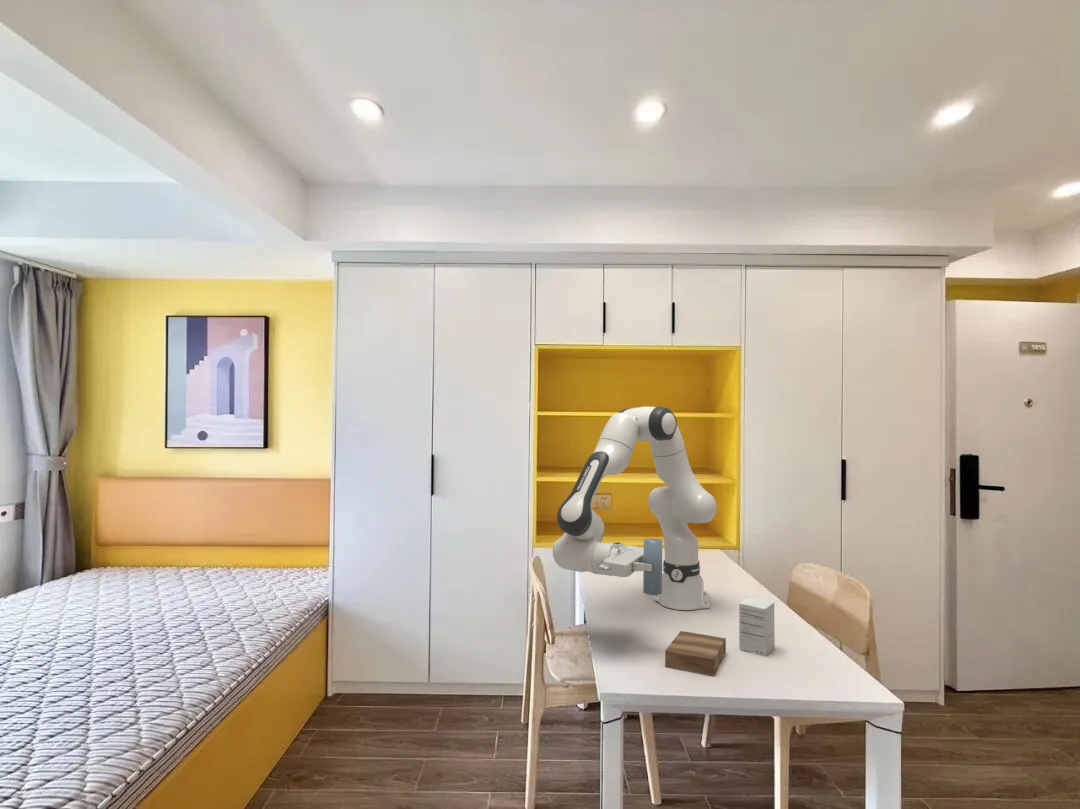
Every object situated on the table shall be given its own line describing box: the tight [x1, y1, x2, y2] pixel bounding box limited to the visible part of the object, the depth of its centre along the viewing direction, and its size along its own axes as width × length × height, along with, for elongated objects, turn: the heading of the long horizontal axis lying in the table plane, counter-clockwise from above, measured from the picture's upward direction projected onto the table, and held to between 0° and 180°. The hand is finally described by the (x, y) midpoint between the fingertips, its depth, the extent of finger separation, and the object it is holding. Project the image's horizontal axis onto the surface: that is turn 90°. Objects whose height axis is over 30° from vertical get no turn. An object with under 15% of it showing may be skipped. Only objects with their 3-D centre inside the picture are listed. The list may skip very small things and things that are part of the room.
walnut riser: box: [664, 630, 727, 677], centre depth 157 cm, size 16×12×4 cm
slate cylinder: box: [642, 537, 663, 596], centre depth 164 cm, size 5×5×14 cm
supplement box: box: [738, 597, 776, 657], centre depth 164 cm, size 7×7×13 cm
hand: (655, 564), depth 163 cm, fingers closed on slate cylinder, 5 cm apart
